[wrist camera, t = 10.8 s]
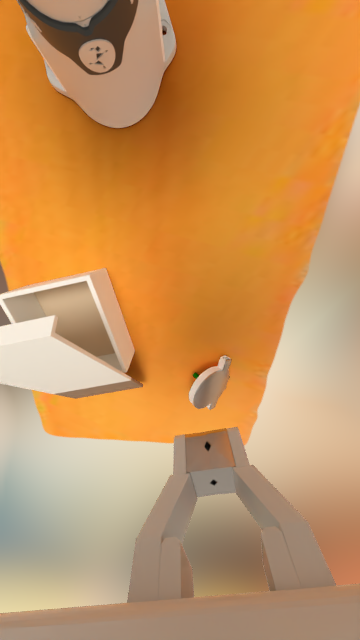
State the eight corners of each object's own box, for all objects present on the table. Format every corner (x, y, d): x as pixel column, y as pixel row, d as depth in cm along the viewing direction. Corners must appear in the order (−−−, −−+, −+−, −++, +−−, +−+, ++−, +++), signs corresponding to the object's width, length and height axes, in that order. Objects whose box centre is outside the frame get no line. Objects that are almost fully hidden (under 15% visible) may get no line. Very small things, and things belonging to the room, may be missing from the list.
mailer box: (28, 285, 41) (-5, 295, 33) (105, 267, 39) (89, 274, 32) (69, 363, 48) (49, 386, 41) (135, 351, 47) (127, 372, 40)
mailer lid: (-81, 343, 23) (-93, 364, 22) (55, 315, 22) (50, 335, 21) (76, 387, 50) (75, 398, 48) (142, 375, 48) (143, 386, 47)
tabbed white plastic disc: (220, 403, 53) (203, 432, 43) (194, 388, 56) (173, 412, 47) (237, 356, 47) (222, 379, 38) (207, 343, 50) (186, 361, 41)
